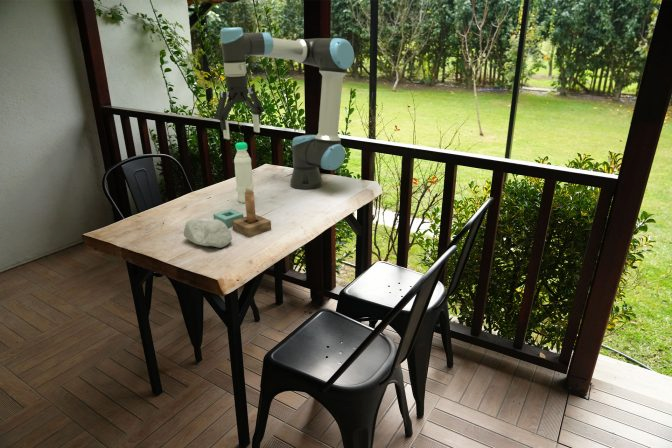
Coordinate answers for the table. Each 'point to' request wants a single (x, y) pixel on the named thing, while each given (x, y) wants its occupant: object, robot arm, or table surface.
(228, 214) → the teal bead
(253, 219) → the brown wooden square peg
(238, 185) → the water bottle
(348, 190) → the table surface
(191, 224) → the decorative stone
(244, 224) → the brown square socket block
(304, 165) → the robot arm
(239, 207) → the table surface
